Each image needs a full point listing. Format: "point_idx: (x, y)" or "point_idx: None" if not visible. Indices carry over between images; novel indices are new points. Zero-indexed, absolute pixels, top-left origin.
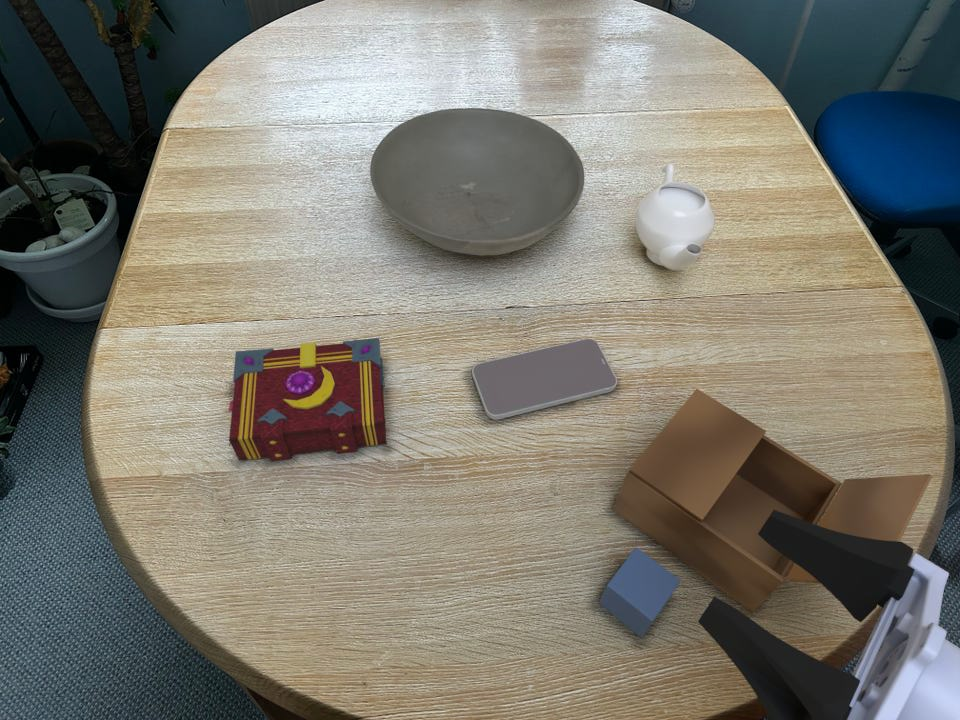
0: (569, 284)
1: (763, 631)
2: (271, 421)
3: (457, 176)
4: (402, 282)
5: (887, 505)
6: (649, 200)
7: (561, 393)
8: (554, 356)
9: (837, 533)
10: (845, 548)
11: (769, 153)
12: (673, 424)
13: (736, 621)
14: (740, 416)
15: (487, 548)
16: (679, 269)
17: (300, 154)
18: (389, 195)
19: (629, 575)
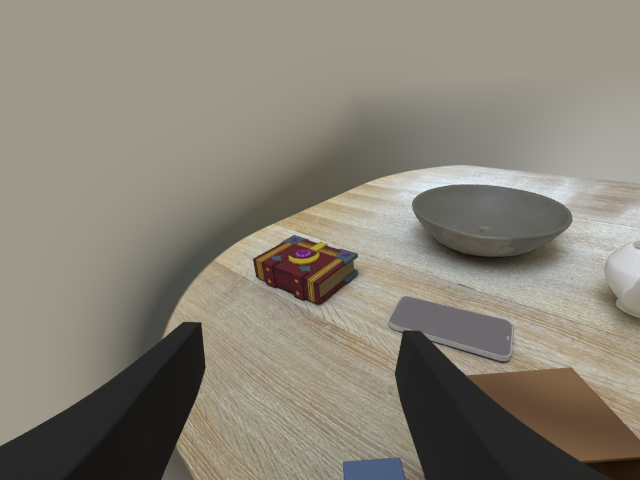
0: (520, 291)
1: (151, 371)
2: (274, 259)
3: (480, 221)
4: (405, 251)
5: None
6: (622, 247)
7: (452, 337)
8: (467, 316)
9: (487, 399)
10: (471, 420)
11: None
12: (515, 376)
13: (160, 343)
14: (617, 418)
15: (311, 388)
16: (638, 308)
17: (406, 200)
18: (424, 209)
19: (370, 473)
